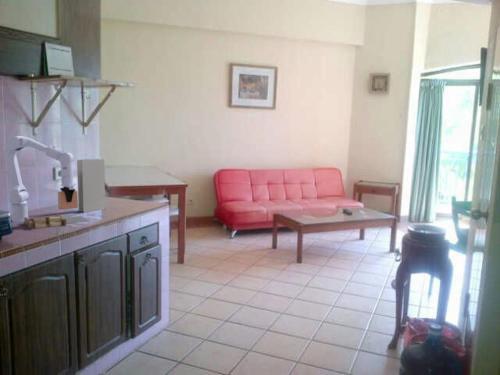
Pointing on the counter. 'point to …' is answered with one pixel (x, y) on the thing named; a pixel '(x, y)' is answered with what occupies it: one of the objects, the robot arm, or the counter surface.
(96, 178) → the grey tall block
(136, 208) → the counter surface
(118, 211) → the counter surface
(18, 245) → the counter surface
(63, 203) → the panel
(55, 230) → the counter surface
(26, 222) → the rack
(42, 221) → the offcut
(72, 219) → the mat
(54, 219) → the offcut
